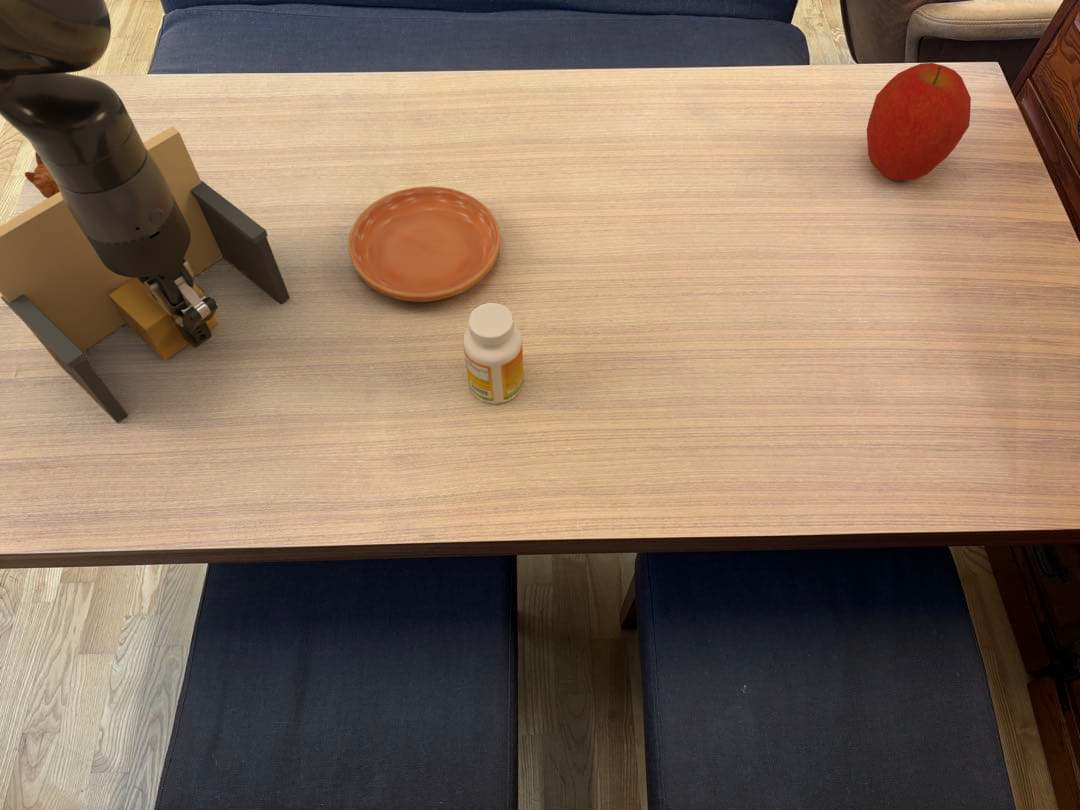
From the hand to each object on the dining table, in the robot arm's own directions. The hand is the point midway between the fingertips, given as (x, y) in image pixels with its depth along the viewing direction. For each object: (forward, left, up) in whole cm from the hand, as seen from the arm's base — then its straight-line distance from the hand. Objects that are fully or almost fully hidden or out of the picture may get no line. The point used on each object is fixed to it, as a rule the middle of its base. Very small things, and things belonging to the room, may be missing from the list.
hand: (199, 338), depth 83 cm
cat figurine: (+5, +23, -2) cm, 24 cm away
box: (0, +6, -2) cm, 6 cm away
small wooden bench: (0, +5, -2) cm, 5 cm away
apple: (+70, -38, -2) cm, 79 cm away
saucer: (+24, -7, -2) cm, 25 cm away
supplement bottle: (+17, -24, -3) cm, 29 cm away
